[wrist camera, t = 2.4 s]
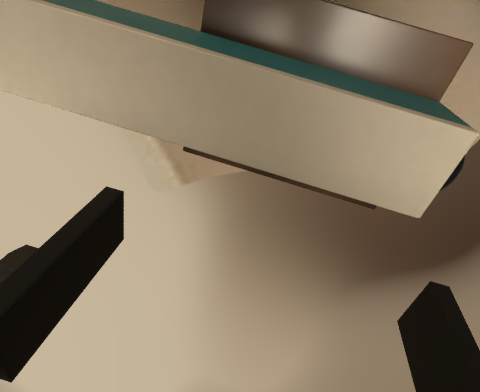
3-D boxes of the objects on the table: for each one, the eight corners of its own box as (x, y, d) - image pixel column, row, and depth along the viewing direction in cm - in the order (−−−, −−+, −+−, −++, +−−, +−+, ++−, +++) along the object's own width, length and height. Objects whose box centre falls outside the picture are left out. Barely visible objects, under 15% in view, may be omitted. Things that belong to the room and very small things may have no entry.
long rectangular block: (50, 68, 19) (-17, 85, 15) (41, -16, 17) (-40, -21, 13) (396, 173, 19) (419, 219, 15) (439, 101, 16) (480, 133, 12)
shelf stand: (253, 68, 46) (182, 150, 21) (272, -12, 40) (209, -33, 15) (339, 94, 45) (374, 209, 20) (371, 16, 40) (474, 43, 15)
